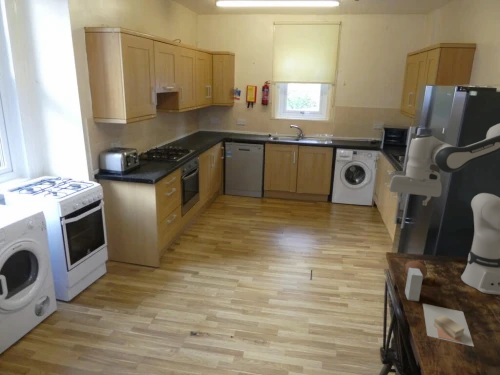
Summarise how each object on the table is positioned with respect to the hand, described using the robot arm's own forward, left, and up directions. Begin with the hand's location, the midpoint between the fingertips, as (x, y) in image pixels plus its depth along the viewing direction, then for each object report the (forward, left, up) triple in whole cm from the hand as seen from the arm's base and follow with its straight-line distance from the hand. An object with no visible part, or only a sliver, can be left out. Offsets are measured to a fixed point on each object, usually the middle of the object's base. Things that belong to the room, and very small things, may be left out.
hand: (412, 203), depth 153 cm
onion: (-5, +3, -34) cm, 35 cm away
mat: (-14, +33, -34) cm, 49 cm away
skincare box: (-3, +19, -34) cm, 40 cm away
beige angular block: (-14, +37, -33) cm, 52 cm away
